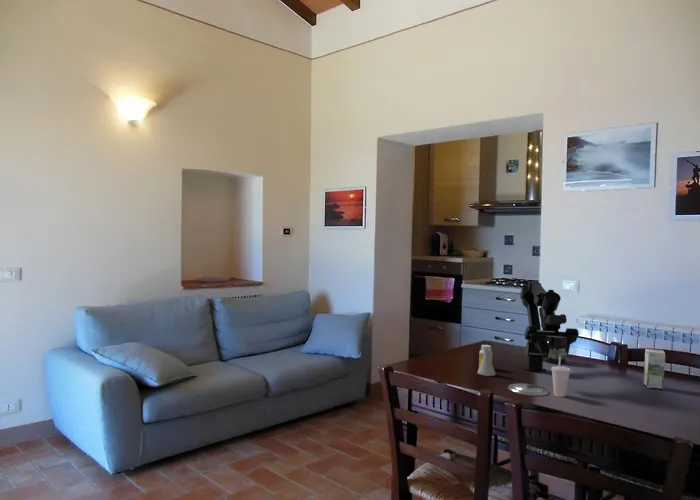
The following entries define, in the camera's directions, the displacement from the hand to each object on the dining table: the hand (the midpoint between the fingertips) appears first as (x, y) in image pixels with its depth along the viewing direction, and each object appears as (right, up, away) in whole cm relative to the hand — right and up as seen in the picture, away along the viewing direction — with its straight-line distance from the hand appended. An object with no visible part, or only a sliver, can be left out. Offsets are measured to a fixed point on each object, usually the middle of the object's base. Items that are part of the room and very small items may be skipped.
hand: (554, 353), depth 190 cm
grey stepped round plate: (-11, -13, -3) cm, 17 cm away
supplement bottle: (-18, -12, +28) cm, 35 cm away
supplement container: (+18, -13, +45) cm, 50 cm away
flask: (-21, -12, +18) cm, 30 cm away
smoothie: (-1, -14, -8) cm, 16 cm away
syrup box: (+41, -15, +7) cm, 44 cm away
